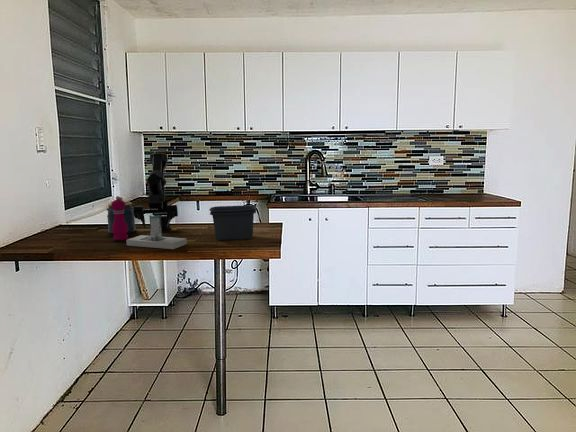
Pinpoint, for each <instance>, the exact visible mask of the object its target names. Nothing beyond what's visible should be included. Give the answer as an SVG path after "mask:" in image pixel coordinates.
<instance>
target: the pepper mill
mask: <svg viewBox="0 0 576 432" xmlns="http://www.w3.org/2000/svg"><path fill="white" fill-rule="evenodd" d="M120 197H121V196H118V195H117V196H115V199H114V200H113V202H112V201H111V202H112V204H111V206H112V208H113V209H114V210H113V213H114V223H113V226H112V232H113V233H114V234H113V240H115V241H123V240H127V239H129V235H128V234H129V233H127V232H128V226H127V224H126V222H125V219H124V213H125V212H124V210H123V209H124V208H125V202H124V201H123V200H124V199H123V200H119V199H120Z"/></svg>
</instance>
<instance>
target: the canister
mask: <svg viewBox="0 0 576 432" xmlns="http://www.w3.org/2000/svg"><path fill="white" fill-rule="evenodd" d="M119 197H120V199H119V200H123V201H124V202H125V208H124V209H123V210H124V212H125V213H124V219H125V222H126V224H127V226H128V232H127V233H126V234H130V233H133V232H134V233H135V231H136V223H135V222H136V221H135V217H134V213H133V208H134V207H135V206H132V205H133V202H131V201H130V200H126V199H125V200H124V199H123V197H121V196H119ZM113 201H114V200H113ZM113 201H110V202H109V203H108V204H107V206H108V207H107V208H106V211H107V216H106V217H107V226H108V227H107V231H108V233H109V234H113V235H115V234H114V233H113V232H112V226H113V223H114V213H113V210H114V209H113V208H112V206H111V204H112V202H113Z"/></svg>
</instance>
